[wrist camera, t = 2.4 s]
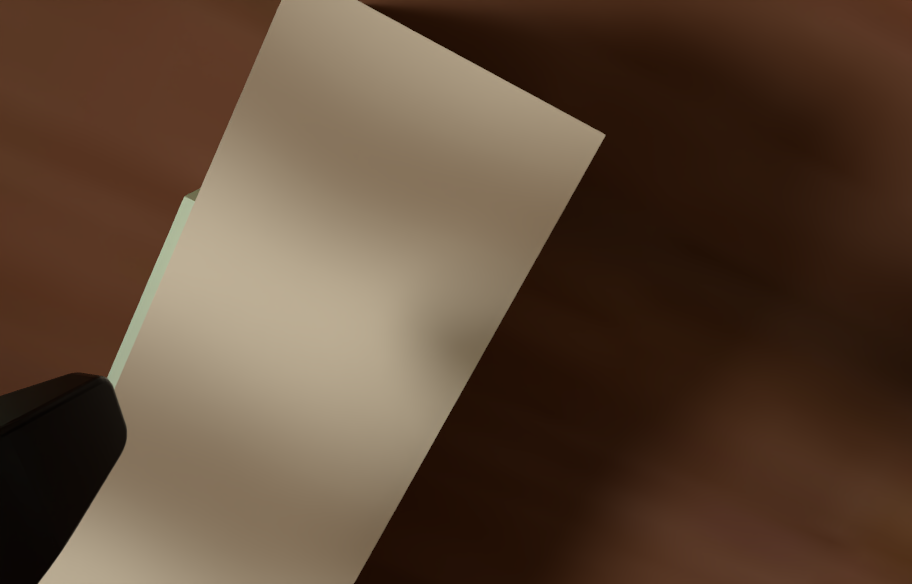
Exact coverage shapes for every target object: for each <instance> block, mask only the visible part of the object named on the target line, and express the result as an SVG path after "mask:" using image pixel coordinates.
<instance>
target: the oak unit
mask: <svg viewBox="0 0 912 584" xmlns="http://www.w3.org/2000/svg"><path fill="white" fill-rule="evenodd" d="M604 137H605V134H603V133H601V132H600V131H598V130H596V129H594V128H592V127H590V126H588V125H587V124H585V123H583V122H581V121H579V120H577V119H575V118H574V117H572V116H570V115H568V114H566V113H564V112H563V111H561V110H559V109H557V108H555V107H553V106H551V105H550V104H548V103H546V102H544V101H542V100H540V99H539V98H537V97H535V96H533V95H531V94H529V93H527V92H526V91H524V90H522V89H520V88H518V87H516V86H514V85H513V84H511V83H509V82H507V81H505V80H503V79H502V78H500V77H498V76H496V75H494V74H492V73H490V72H489V71H487V70H485V69H483V68H481V67H479V66H478V65H476V64H474V63H472V62H470V61H468V60H466V59H465V58H463V57H461V56H459V55H457V54H455V53H453V52H452V51H450V50H448V49H446V48H444V47H442V46H441V45H439V44H437V43H435V42H433V41H431V40H429V39H428V38H426V37H424V36H422V35H420V34H418V33H417V32H415V31H413V30H411V29H409V28H407V27H405V26H404V25H402V24H400V23H398V22H396V21H394V20H392V19H391V18H389V17H387V16H385V15H383V14H381V13H380V12H378V11H376V10H374V9H372V8H370V7H368V6H367V5H365V4H363V3H361V2H359V1H357V0H281V3H280V5H279V7H278V10H277V12H276V14H275V17H274V19H273V21H272V24H271V26H270V28H269V31H268V33H267V35H266V38H265V40H264V42H263V45H262V47H261V49H260V52H259V54H258V56H257V59H256V61H255V63H254V65H253V68H252V70H251V72H250V75H249V77H248V79H247V82H246V84H245V86H244V89H243V91H242V93H241V96H240V98H239V100H238V103H237V105H236V107H235V110H234V112H233V114H232V117H231V119H230V121H229V124H228V126H227V128H226V131H225V133H224V135H223V138H222V140H221V142H220V145H219V147H218V149H217V152H216V154H215V156H214V159H213V161H212V163H211V166H210V168H209V170H208V172H207V175H206V177H205V179H204V182H203V184H202V186H201V188H200V189H198V190H196V191H194V192H192V193H190V194H188V195H186V196H184V199H183V201H182V203H181V206H180V208H179V210H178V213H177V215H176V217H175V220H174V222H173V224H172V227H171V229H170V232H169V234H168V236H167V239H166V241H165V243H164V246H163V248H162V250H161V253H160V255H159V257H158V260H157V262H156V264H155V267H154V269H153V271H152V274H151V276H150V279H149V281H148V283H147V286H146V288H145V290H144V293H143V295H142V297H141V300H140V302H139V304H138V307H137V309H136V311H135V314H134V316H133V319H132V321H131V323H130V326H129V328H128V330H127V333H126V335H125V337H124V340H123V342H122V344H121V347H120V349H119V351H118V354H117V356H116V358H115V361H114V363H113V366H112V368H111V370H110V373H109V375H108V377H107V378H108V380H109V381H110V382H111V383H112V385H113V387H114V390H115V393H116V396H117V399H118V402H119V405H120V408H121V411H122V414H123V417H124V420H125V423H126V426H127V440H126V444H125V447H124V450H123V452H122V454H121V456H120V457H119V459H118V461H117V462H116V464H115V466H114V467H113V469H112V471H111V472H110V474H109V476H108V477H107V479H106V481H105V482H104V484H103V485H102V487H101V489H100V490H99V492H98V494H97V495H96V497H95V499H94V500H93V502H92V504H91V505H90V507H89V509H88V510H87V512H86V513H85V515H84V517H83V518H82V520H81V522H80V523H79V525H78V527H77V528H76V530H75V532H74V533H73V535H72V536H71V538H70V539H69V541H68V543H67V544H66V546H65V547H64V549H63V550H62V552H61V553H60V555H59V556H58V557H57V559H56V560H55V562H54V563H53V564H52V566H51V567H50V569H49V570H48V571H47V573H46V574H45V575H44V577H43V578H42V579H41V581H40V582H39V583H38V584H354V583H355V581H356V579H357V577H358V575H359V574H360V572H361V570H362V568H363V567H364V565H365V563H366V561H367V559H368V558H369V556H370V554H371V552H372V551H373V549H374V547H375V545H376V543H377V542H378V540H379V538H380V536H381V534H382V533H383V531H384V529H385V527H386V526H387V524H388V522H389V520H390V518H391V517H392V515H393V513H394V511H395V510H396V508H397V506H398V504H399V502H400V501H401V499H402V497H403V495H404V494H405V492H406V490H407V488H408V486H409V485H410V483H411V481H412V479H413V477H414V476H415V474H416V472H417V470H418V469H419V467H420V465H421V463H422V461H423V460H424V458H425V456H426V454H427V453H428V451H429V449H430V447H431V445H432V444H433V442H434V440H435V438H436V437H437V435H438V433H439V431H440V429H441V428H442V426H443V424H444V422H445V420H446V419H447V417H448V415H449V413H450V412H451V410H452V408H453V406H454V404H455V403H456V401H457V399H458V397H459V396H460V394H461V392H462V390H463V388H464V387H465V385H466V383H467V381H468V380H469V378H470V376H471V374H472V372H473V371H474V369H475V367H476V365H477V363H478V362H479V360H480V358H481V356H482V355H483V353H484V351H485V349H486V347H487V346H488V344H489V342H490V340H491V339H492V337H493V335H494V333H495V331H496V330H497V328H498V326H499V324H500V323H501V321H502V319H503V317H504V315H505V314H506V312H507V310H508V308H509V306H510V305H511V303H512V301H513V299H514V298H515V296H516V294H517V292H518V290H519V289H520V287H521V285H522V283H523V282H524V280H525V278H526V276H527V274H528V273H529V271H530V269H531V267H532V266H533V264H534V262H535V260H536V258H537V257H538V255H539V253H540V251H541V249H542V248H543V246H544V244H545V242H546V241H547V239H548V237H549V235H550V233H551V232H552V230H553V228H554V226H555V225H556V223H557V221H558V219H559V217H560V216H561V214H562V212H563V210H564V209H565V207H566V205H567V203H568V201H569V200H570V198H571V196H572V194H573V192H574V191H575V189H576V187H577V185H578V184H579V182H580V180H581V178H582V176H583V175H584V173H585V171H586V169H587V168H588V166H589V164H590V162H591V160H592V159H593V157H594V155H595V153H596V152H597V150H598V148H599V146H600V144H601V143H602V141H603V139H604Z"/></svg>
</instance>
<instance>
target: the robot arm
mask: <svg viewBox="0 0 912 584" xmlns="http://www.w3.org/2000/svg"><path fill="white" fill-rule="evenodd" d="M126 440H127V426H126V423H125V420H124V417H123V414H122V411H121V408H120V405H119V402H118V399H117V396H116V393H115V390H114V387H113V385H112V383H111V382H110V381H109V380H108V378H105V377H103V376H99V375H92V374H85V373H71V374H67V375H64V376H61V377H58V378H55V379H51V380H48V381H45V382H42V383H39V384H36V385H33V386H30V387H27V388H24V389H20V390H17V391H14V392H11V393H8V394H5V395H2V396H0V584H38V583H39V582H40V581H41V579H42V578H43V577H44V575H45V574H46V573H47V571H48V570H49V569H50V567H51V566H52V564H53V563H54V562H55V560H56V559H57V557H58V556H59V555H60V553H61V552H62V550H63V549H64V547H65V546H66V544H67V543H68V541H69V539H70V538H71V536H72V535H73V533H74V532H75V530H76V528H77V527H78V525H79V523H80V522H81V520H82V518H83V517H84V515H85V513H86V512H87V510H88V509H89V507H90V505H91V504H92V502H93V500H94V499H95V497H96V495H97V494H98V492H99V490H100V489H101V487H102V485H103V484H104V482H105V481H106V479H107V477H108V476H109V474H110V472H111V471H112V469H113V467H114V466H115V464H116V462H117V461H118V459H119V457H120V456H121V454H122V452H123V450H124V447H125V444H126Z"/></svg>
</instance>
